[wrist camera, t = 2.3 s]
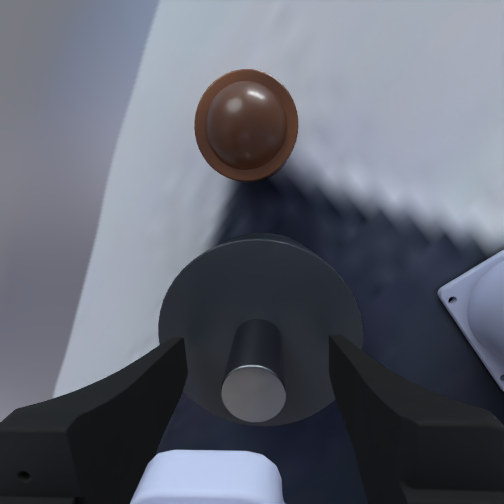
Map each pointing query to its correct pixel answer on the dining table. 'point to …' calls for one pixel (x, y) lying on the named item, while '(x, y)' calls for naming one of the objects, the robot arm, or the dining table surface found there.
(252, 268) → the lid
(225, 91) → the mushroom
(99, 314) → the dining table surface
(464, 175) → the dining table surface
